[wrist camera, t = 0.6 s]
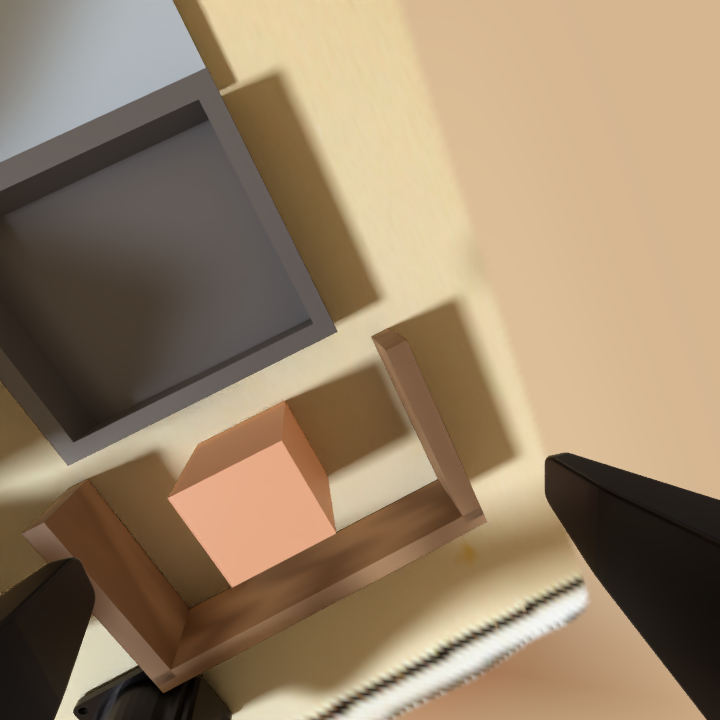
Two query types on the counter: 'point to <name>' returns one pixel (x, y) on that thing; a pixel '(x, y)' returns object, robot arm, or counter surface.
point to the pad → (83, 62)
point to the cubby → (275, 585)
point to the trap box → (143, 269)
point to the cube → (255, 495)
